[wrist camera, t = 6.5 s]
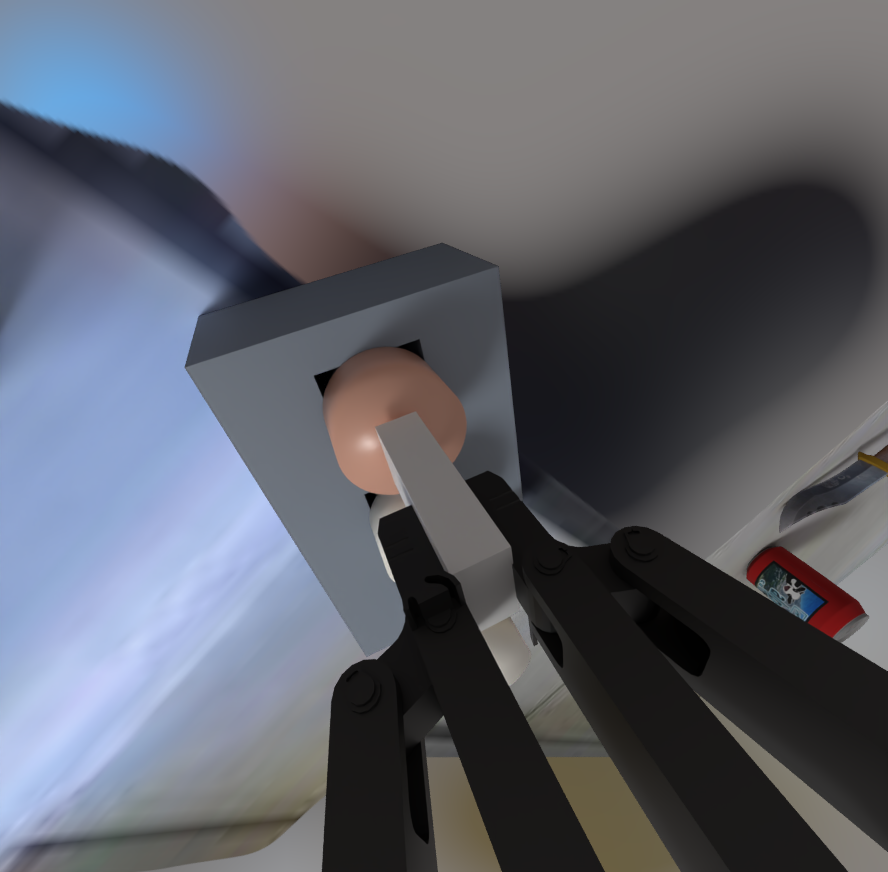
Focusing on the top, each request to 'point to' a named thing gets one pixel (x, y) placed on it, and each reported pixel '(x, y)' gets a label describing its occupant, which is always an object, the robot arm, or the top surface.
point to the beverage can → (806, 593)
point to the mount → (301, 395)
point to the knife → (836, 488)
